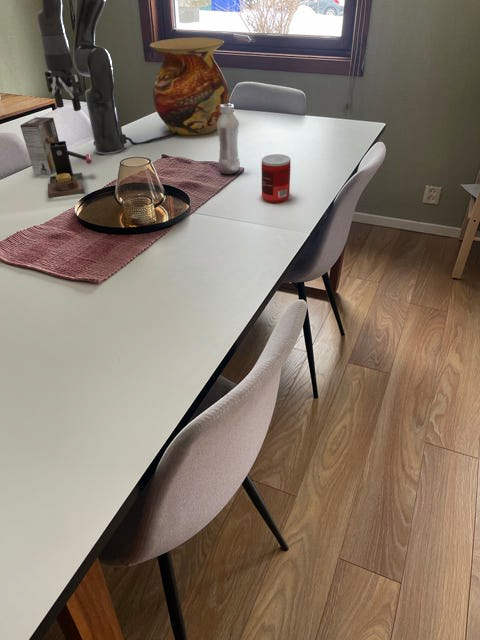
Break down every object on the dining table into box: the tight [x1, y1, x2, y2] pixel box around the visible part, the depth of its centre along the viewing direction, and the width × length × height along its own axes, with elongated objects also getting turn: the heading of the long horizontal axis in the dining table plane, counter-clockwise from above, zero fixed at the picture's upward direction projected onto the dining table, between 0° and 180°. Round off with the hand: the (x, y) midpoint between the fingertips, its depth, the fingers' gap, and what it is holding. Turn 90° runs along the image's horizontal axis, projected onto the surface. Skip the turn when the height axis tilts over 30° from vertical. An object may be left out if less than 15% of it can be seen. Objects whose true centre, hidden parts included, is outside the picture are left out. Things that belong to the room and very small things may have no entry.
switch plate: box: [47, 176, 86, 199], centre depth 145 cm, size 10×8×4 cm
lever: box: [55, 144, 92, 165], centre depth 149 cm, size 11×5×2 cm, turn 107°
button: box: [55, 173, 71, 183], centre depth 144 cm, size 4×4×2 cm
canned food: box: [261, 153, 292, 204], centre depth 136 cm, size 8×8×11 cm
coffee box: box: [20, 116, 60, 176], centre depth 157 cm, size 9×6×16 cm
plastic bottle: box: [216, 103, 241, 175], centre depth 150 cm, size 6×7×20 cm
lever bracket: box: [49, 140, 84, 184], centre depth 150 cm, size 10×8×12 cm
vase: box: [149, 37, 230, 136], centre depth 188 cm, size 29×29×30 cm
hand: (68, 108), depth 158 cm, fingers open, 8 cm apart
